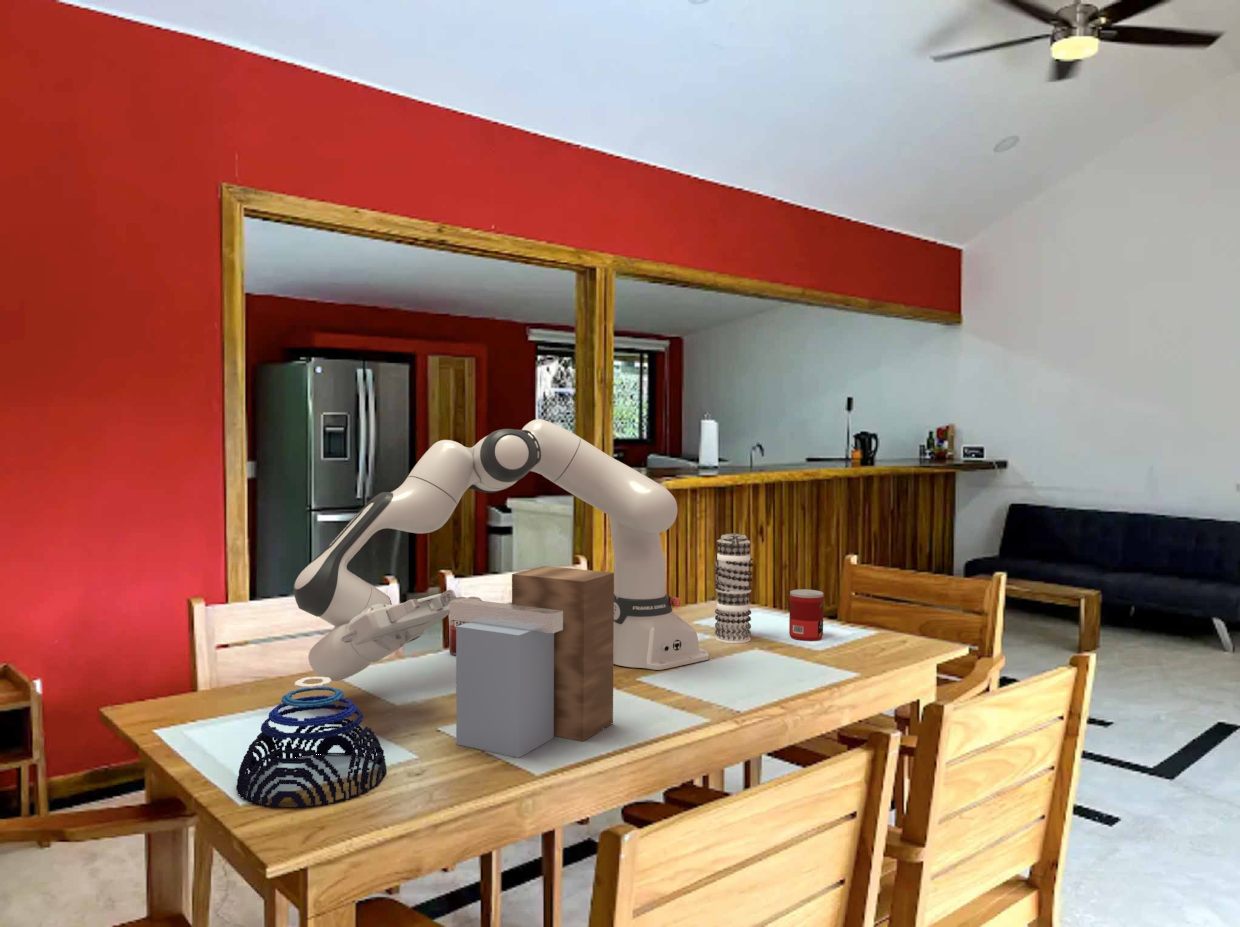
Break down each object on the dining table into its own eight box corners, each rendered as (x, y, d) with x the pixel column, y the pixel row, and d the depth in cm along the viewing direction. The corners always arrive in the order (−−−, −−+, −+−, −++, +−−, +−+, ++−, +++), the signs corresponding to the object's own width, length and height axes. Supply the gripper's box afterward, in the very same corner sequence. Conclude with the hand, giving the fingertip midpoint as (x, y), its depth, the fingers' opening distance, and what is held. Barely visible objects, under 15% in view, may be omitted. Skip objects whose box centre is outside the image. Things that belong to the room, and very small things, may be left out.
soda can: (475, 657, 198) (475, 603, 197) (444, 655, 199) (444, 601, 199) (487, 649, 205) (487, 596, 204) (456, 647, 206) (456, 595, 206)
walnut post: (511, 727, 153) (511, 574, 152) (544, 710, 162) (544, 565, 161) (583, 741, 146) (584, 581, 145) (612, 723, 155) (613, 572, 154)
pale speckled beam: (449, 619, 149) (449, 601, 149) (460, 616, 152) (460, 598, 151) (552, 633, 140) (552, 614, 139) (562, 629, 142) (563, 610, 142)
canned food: (826, 641, 215) (826, 595, 214) (792, 641, 215) (792, 595, 214) (819, 633, 222) (820, 589, 222) (786, 633, 222) (787, 589, 222)
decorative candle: (759, 638, 217) (761, 534, 216) (738, 645, 210) (739, 538, 208) (727, 632, 223) (729, 531, 221) (705, 639, 216) (707, 534, 214)
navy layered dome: (272, 753, 141) (271, 661, 140) (400, 755, 140) (400, 663, 140) (211, 808, 121) (210, 701, 120) (361, 810, 120) (360, 703, 120)
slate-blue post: (456, 744, 145) (456, 626, 144) (493, 725, 154) (493, 614, 153) (518, 757, 139) (518, 635, 138) (553, 738, 148) (554, 622, 147)
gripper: (328, 625, 149) (383, 591, 144) (412, 604, 167) (464, 573, 162) (342, 661, 148) (398, 627, 142) (425, 635, 166) (478, 605, 160)
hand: (434, 598), depth 152 cm, fingers open, 8 cm apart
